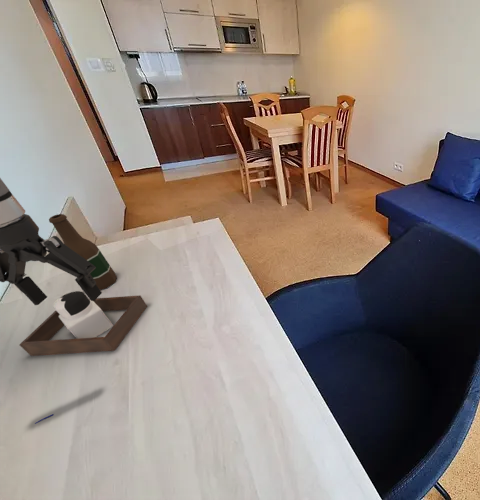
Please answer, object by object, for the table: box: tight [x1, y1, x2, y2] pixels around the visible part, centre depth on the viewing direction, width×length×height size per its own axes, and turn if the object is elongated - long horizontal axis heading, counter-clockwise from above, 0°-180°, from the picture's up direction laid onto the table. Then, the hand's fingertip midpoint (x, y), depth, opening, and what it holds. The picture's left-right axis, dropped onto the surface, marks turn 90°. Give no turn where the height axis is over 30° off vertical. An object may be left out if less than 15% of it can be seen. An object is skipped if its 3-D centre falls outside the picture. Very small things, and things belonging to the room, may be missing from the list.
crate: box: [19, 294, 148, 357], centre depth 77 cm, size 21×15×5 cm
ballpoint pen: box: [34, 413, 54, 425], centre depth 61 cm, size 10×1×1 cm, turn 125°
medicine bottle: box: [53, 290, 115, 339], centre depth 75 cm, size 7×7×12 cm
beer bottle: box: [48, 213, 118, 291], centre depth 88 cm, size 8×8×24 cm
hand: (69, 299), depth 72 cm, fingers open, 13 cm apart
